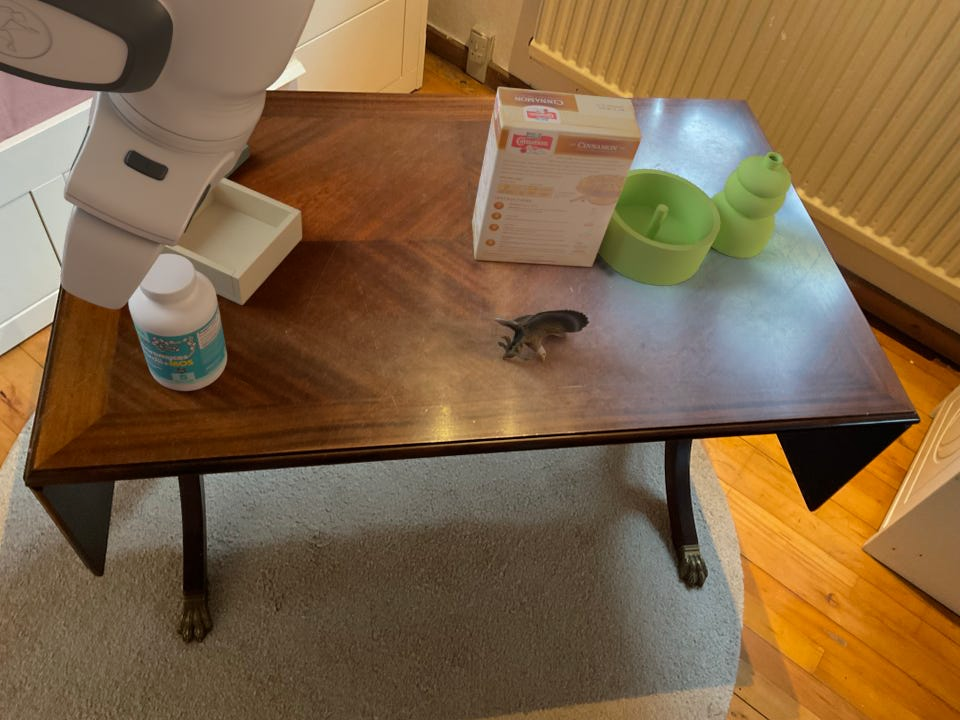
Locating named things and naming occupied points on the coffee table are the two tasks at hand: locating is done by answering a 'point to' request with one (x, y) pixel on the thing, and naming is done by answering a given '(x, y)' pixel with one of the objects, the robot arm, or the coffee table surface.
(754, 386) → the coffee table surface
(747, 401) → the coffee table surface
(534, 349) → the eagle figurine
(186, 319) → the pill bottle
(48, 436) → the coffee table surface
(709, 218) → the food container
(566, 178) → the coffeecake box
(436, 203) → the coffee table surface
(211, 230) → the cream square open box
